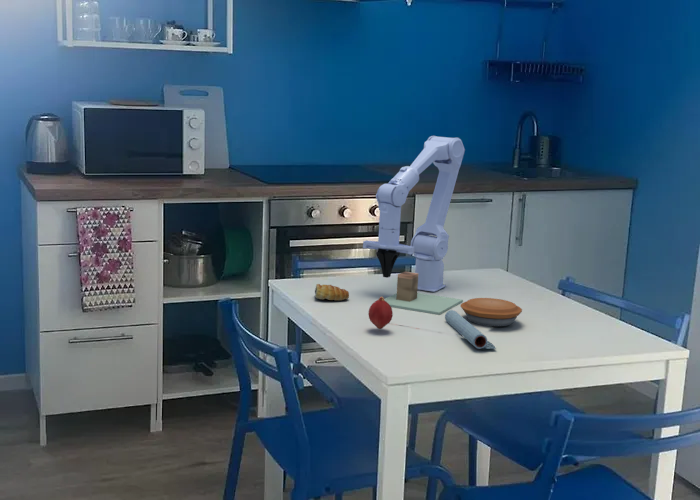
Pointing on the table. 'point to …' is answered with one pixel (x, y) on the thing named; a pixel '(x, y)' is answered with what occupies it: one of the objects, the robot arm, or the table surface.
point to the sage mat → (425, 303)
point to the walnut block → (407, 286)
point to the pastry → (330, 292)
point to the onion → (380, 313)
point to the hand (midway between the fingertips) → (386, 276)
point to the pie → (491, 311)
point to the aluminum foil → (468, 330)
